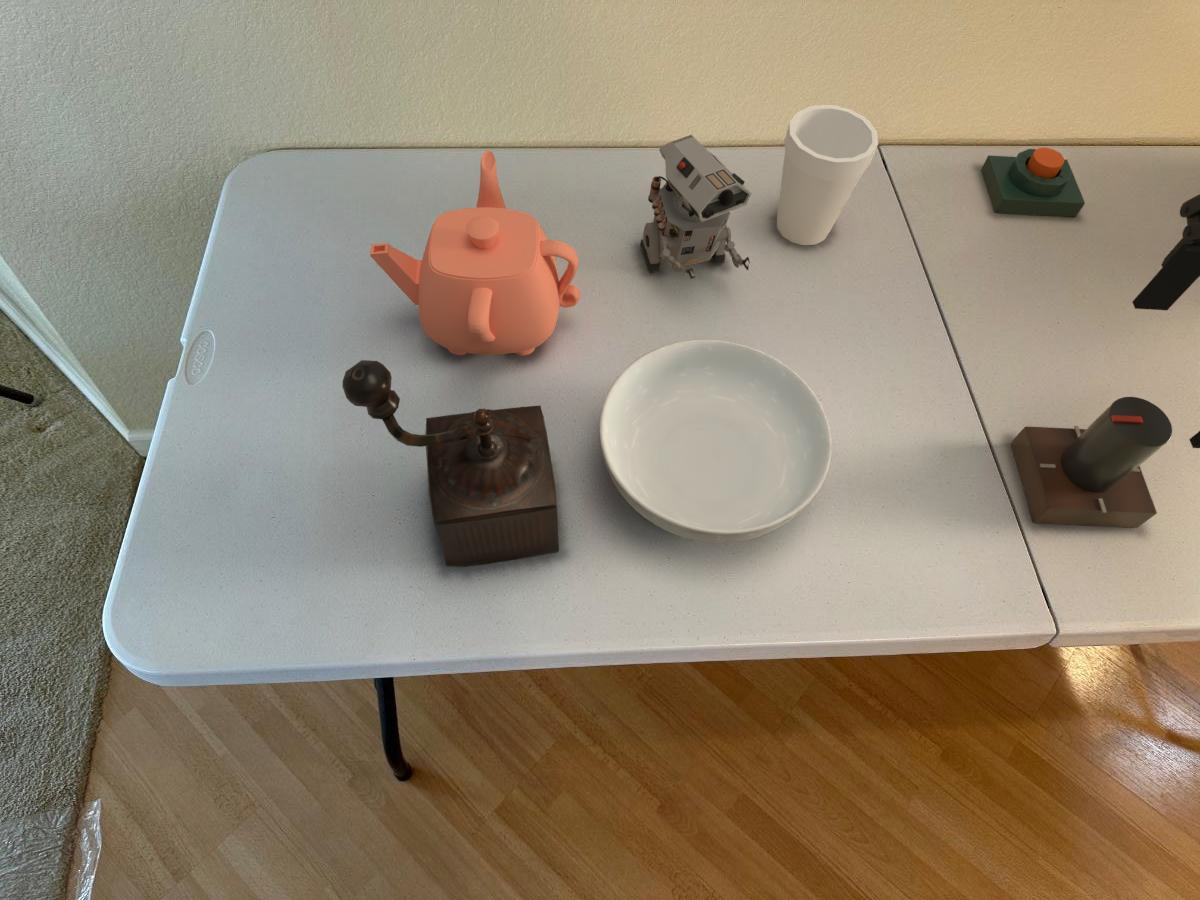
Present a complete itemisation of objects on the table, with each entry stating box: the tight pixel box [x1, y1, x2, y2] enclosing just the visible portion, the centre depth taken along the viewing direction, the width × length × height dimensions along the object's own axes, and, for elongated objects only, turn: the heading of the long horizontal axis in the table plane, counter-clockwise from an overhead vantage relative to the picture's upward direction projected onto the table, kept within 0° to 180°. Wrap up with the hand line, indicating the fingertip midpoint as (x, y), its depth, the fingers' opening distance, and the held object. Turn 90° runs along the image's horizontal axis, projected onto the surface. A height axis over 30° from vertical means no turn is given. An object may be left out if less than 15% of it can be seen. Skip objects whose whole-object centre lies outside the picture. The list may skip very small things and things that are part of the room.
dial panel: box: [1010, 425, 1158, 529], centre depth 77 cm, size 10×9×3 cm
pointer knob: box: [1062, 396, 1173, 492], centre depth 73 cm, size 5×5×8 cm
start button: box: [1027, 147, 1065, 178], centre depth 97 cm, size 4×4×2 cm
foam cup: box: [776, 104, 879, 246], centre depth 91 cm, size 10×9×13 cm
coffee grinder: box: [341, 359, 560, 568], centre depth 67 cm, size 16×11×18 cm
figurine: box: [639, 134, 752, 280], centre depth 85 cm, size 9×12×15 cm
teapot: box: [369, 150, 581, 357], centre depth 81 cm, size 16×17×14 cm
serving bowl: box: [598, 339, 833, 544], centre depth 75 cm, size 21×21×7 cm
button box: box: [980, 148, 1086, 218], centre depth 99 cm, size 10×8×4 cm
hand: (1177, 371), depth 64 cm, fingers open, 13 cm apart
